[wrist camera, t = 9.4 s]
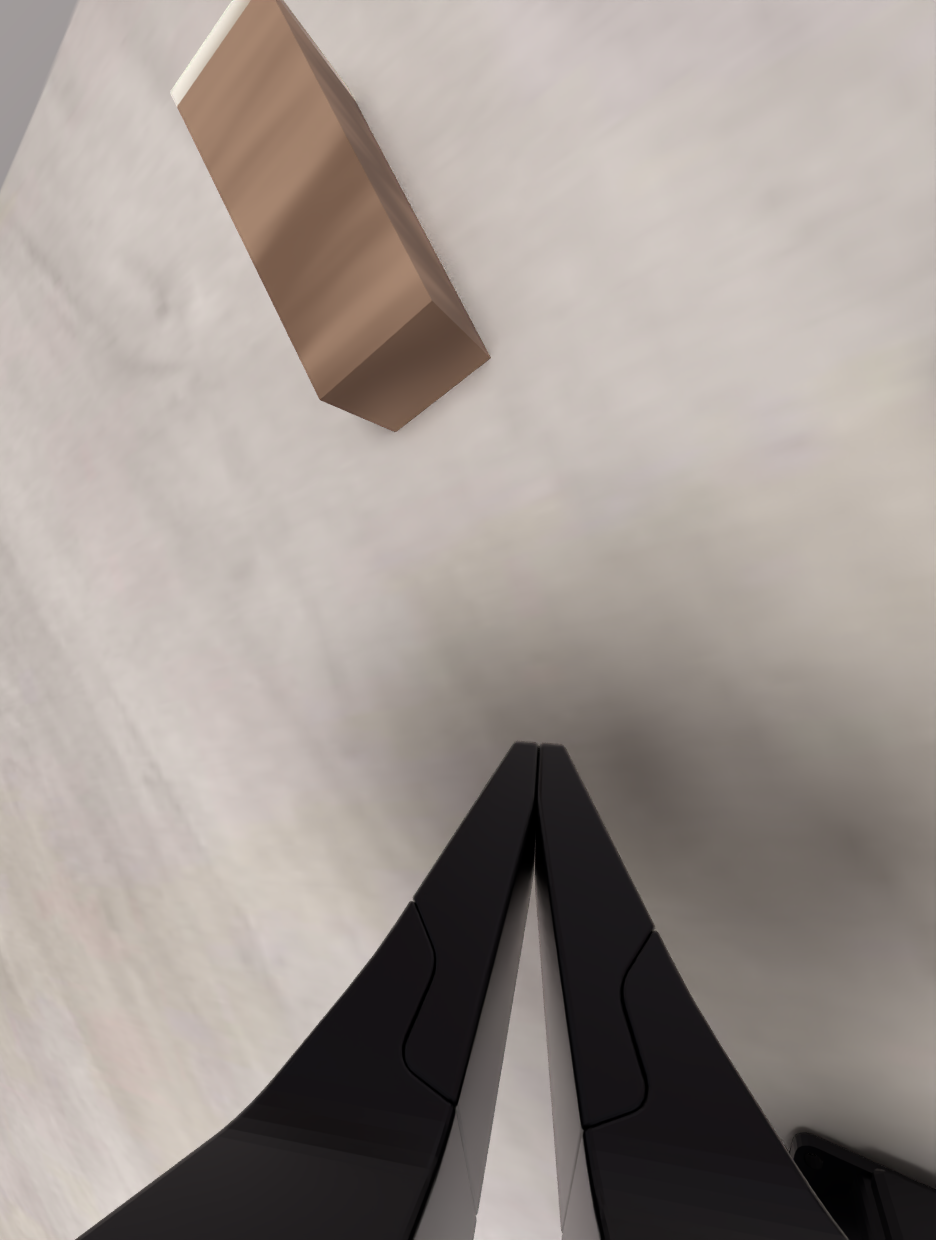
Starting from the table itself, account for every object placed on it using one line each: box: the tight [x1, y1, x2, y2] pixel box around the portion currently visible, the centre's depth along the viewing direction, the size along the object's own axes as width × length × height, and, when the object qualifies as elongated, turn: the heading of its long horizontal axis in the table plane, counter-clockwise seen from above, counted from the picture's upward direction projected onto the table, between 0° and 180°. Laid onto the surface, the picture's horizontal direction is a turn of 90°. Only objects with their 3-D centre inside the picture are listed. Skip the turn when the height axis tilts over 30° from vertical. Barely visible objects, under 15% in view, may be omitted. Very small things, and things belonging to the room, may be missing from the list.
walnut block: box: [170, 0, 491, 432], centre depth 18 cm, size 4×4×12 cm
